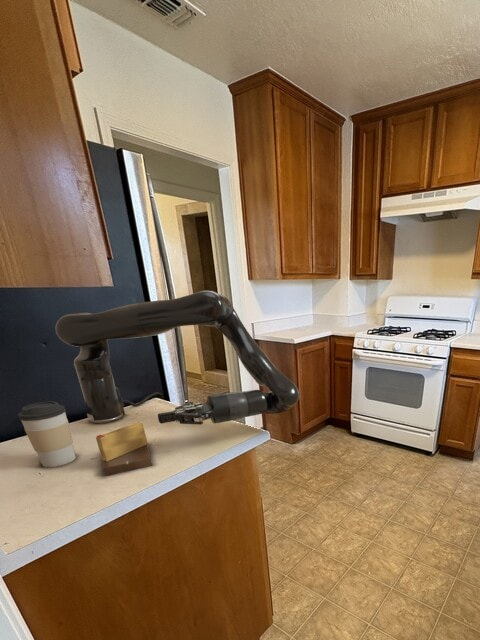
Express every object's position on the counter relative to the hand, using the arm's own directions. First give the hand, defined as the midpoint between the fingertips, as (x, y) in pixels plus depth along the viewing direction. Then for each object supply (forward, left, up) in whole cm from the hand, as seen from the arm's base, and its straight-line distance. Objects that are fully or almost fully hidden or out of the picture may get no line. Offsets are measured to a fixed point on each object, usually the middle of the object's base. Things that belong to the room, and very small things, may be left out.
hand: (158, 418), depth 87 cm
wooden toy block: (+5, -8, -8) cm, 12 cm away
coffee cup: (+11, -24, -10) cm, 28 cm away
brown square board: (+5, -8, -10) cm, 14 cm away
